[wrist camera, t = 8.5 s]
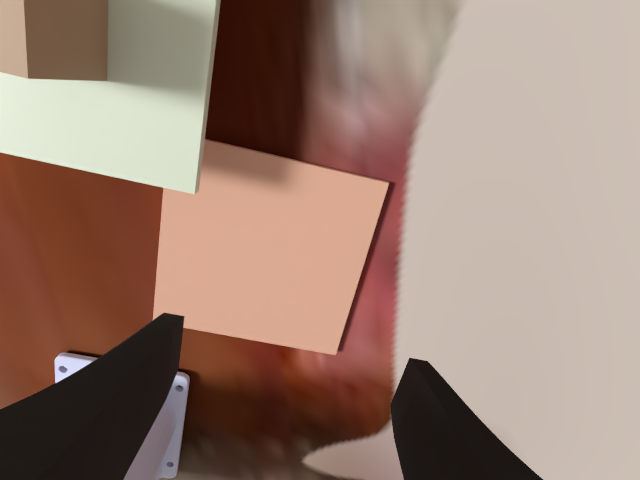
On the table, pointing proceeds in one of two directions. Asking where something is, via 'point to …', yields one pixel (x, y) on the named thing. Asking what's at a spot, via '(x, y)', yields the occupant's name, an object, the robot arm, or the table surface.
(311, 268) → the peach square plate
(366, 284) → the table surface
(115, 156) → the lid
